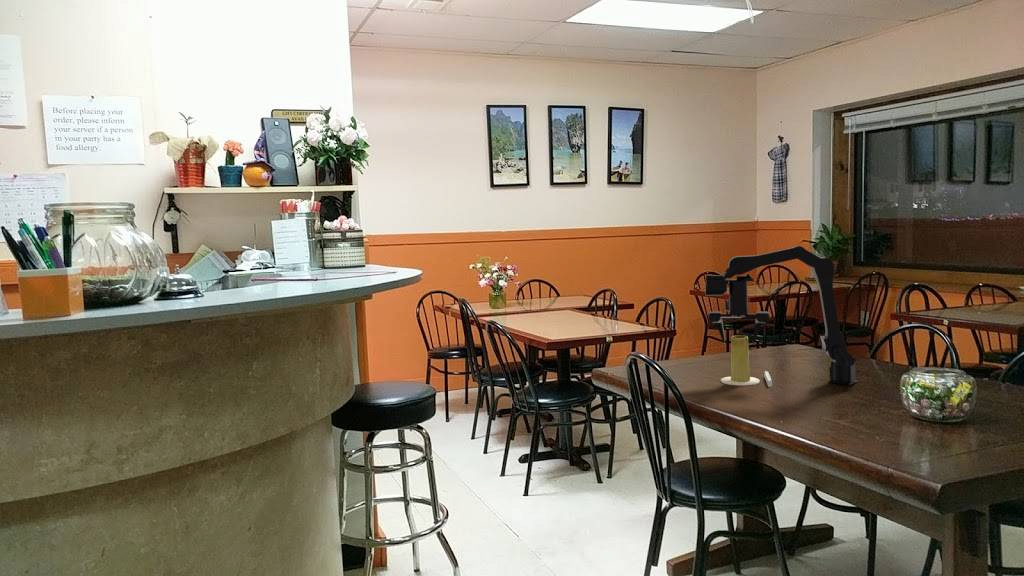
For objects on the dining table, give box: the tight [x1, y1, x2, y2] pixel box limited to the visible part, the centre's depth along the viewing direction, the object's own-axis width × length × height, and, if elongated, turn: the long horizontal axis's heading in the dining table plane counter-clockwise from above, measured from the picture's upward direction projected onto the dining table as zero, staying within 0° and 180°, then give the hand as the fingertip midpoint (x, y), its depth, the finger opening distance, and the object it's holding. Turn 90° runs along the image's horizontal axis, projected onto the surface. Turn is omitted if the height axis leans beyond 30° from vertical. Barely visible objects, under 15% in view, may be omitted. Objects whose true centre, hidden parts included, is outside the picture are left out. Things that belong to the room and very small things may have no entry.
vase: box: [730, 335, 751, 382], centre depth 225 cm, size 6×6×14 cm
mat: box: [720, 375, 760, 387], centre depth 226 cm, size 12×12×1 cm
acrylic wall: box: [764, 370, 773, 388], centre depth 223 cm, size 14×1×2 cm, turn 165°
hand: (739, 343), depth 225 cm, fingers open, 9 cm apart
